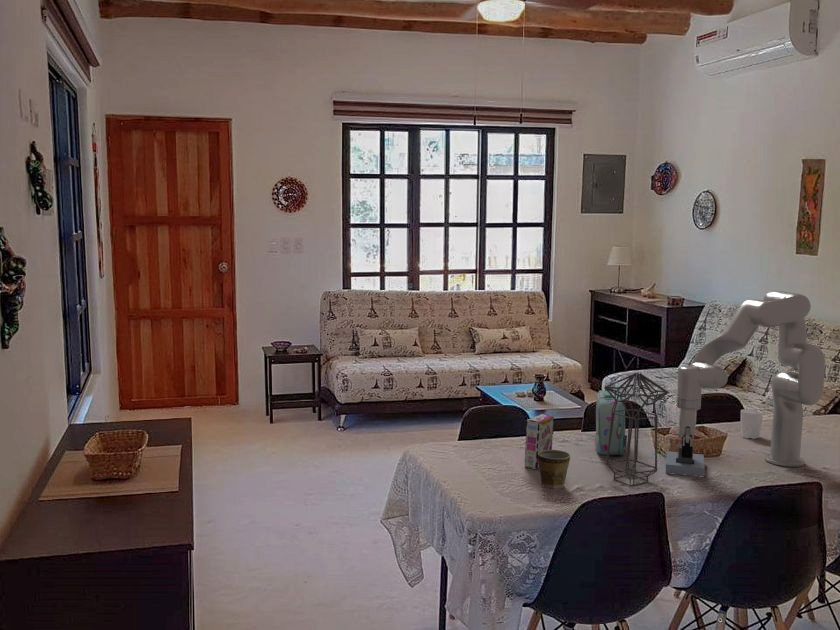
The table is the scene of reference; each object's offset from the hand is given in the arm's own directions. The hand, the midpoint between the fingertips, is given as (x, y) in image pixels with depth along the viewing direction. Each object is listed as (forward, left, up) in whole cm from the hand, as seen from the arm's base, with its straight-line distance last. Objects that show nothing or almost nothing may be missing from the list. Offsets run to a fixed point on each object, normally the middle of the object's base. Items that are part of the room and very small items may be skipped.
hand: (686, 453), depth 272 cm
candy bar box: (+12, -47, -6) cm, 49 cm away
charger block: (0, 0, -6) cm, 6 cm away
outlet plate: (-2, 0, -6) cm, 6 cm away
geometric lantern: (+17, -16, -6) cm, 25 cm away
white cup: (-53, +24, -6) cm, 58 cm away
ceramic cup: (+30, -40, -6) cm, 51 cm away
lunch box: (-16, -26, -6) cm, 31 cm away
